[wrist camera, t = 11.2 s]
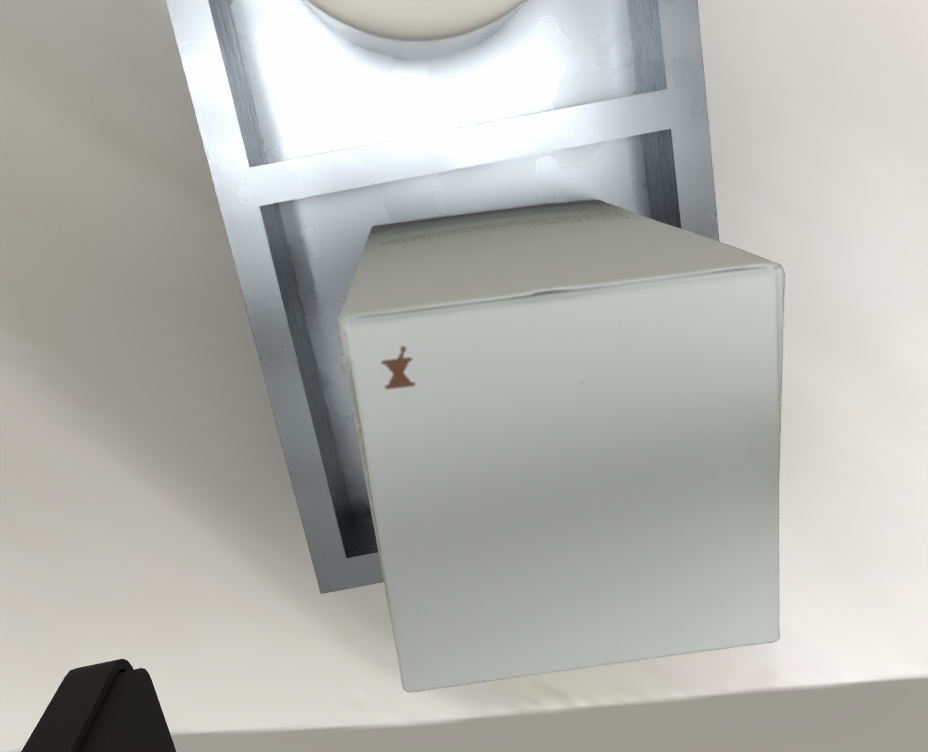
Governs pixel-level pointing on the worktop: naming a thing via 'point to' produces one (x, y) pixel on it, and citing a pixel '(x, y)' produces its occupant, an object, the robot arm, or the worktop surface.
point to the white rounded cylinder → (415, 23)
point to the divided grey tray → (418, 179)
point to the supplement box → (566, 439)
